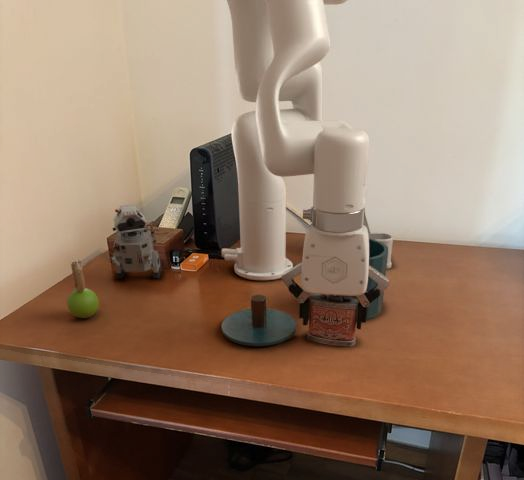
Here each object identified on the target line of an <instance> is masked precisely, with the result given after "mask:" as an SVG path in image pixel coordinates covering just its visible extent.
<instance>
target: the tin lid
mask: <svg viewBox="0 0 524 480" xmlns="http://www.w3.org/2000/svg"><path fill="white" fill-rule="evenodd" d="M296 332H297V321H296V320H295V318H294V317H293V316H292V315H290V314H289V313H286V312H284V311H281V310H278V309H274V308H267V296H266V295H263V294H254V295H251V297H250V308H245V309H242V310H237V311H235V312H233V313H231V314H229V315H228V316H226V317H225V318H224V319H223V321H222V323H221V333H222V334H223V336H224V337H225V338H226V339H227V340H229V341H231V342H233V343H235V344H239V345H243V346H249V347H267V346H273V345H277V344H280V343H281V344H282V343H283V342H285V341H288V340H289V339H291V338H292V337H293V336H294V335H295V333H296Z"/></svg>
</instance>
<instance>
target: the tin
mask: <svg viewBox="0 0 524 480" xmlns="http://www.w3.org/2000/svg"><path fill="white" fill-rule="evenodd" d="M387 258H388V247H387V246H386V245H385V244H384V243H382V242H380V241H377V240H374V239H370V238H369V265H370V266H372V267H373V268H374V269H376V270H377V271H379V272H380V273H381V274H383V275H384V276H386V277H387V269H388V268H387ZM376 284H377V282H375V281H374V280H373V279H371V278H370V277H368V283H367V289H366V291H367V292H368V291H370V290H371V289H372V288H373V287H375V286H376ZM384 293H385V290H384V291H383V292H382V293H381V294H380V296H379V297H378V298H376V299H375V300H374V301H373V302H371V303H370V304H369V306H368V307H367V314H366V321H367V320H371V319H373V318H375V317H377V316H378V315H379V314H381V312H382V310H383V304H384ZM351 298H356V299H358V298H357V297H356V296H351ZM358 301H359V300H358ZM357 313H358V307H357ZM356 322H357V315H356Z"/></svg>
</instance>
